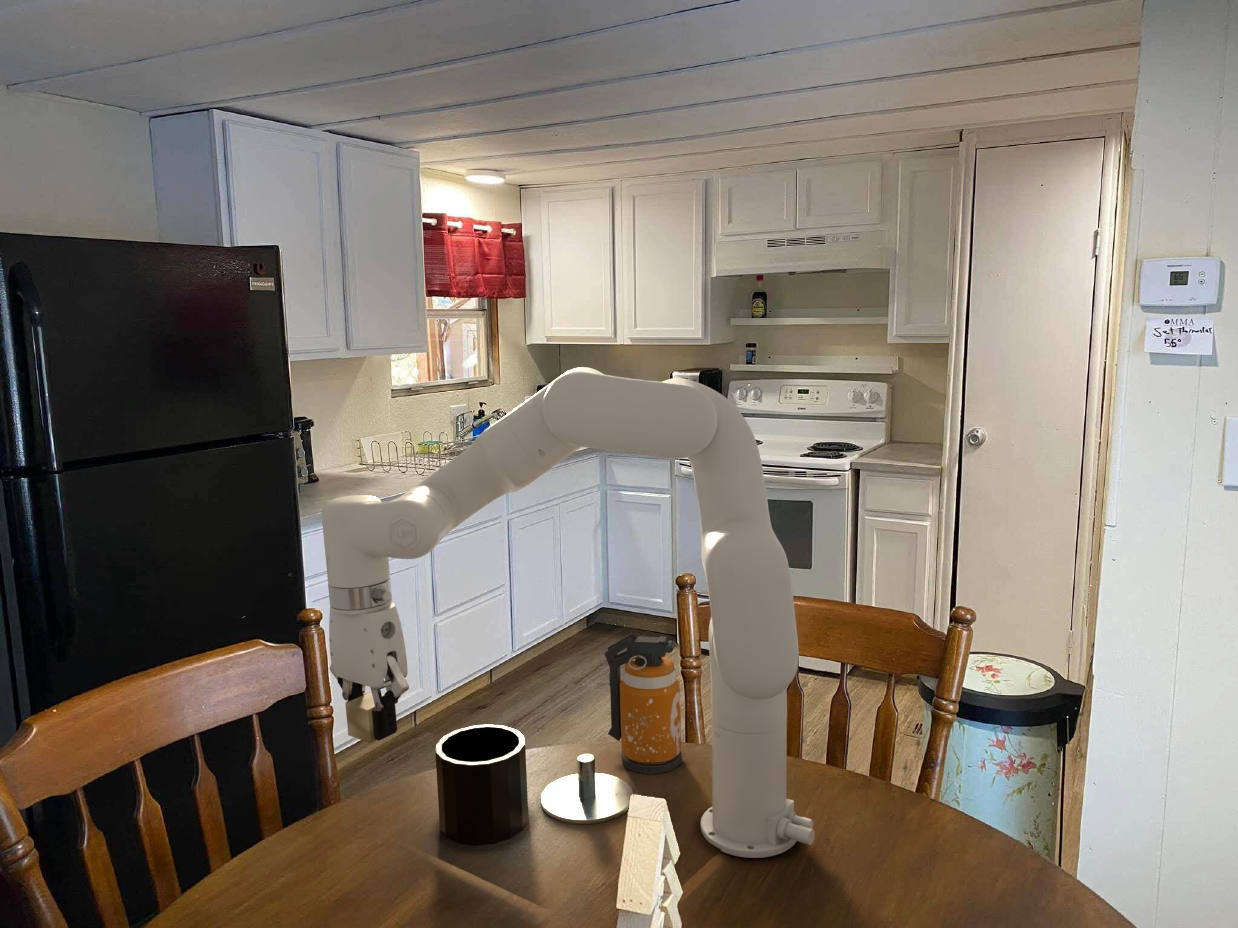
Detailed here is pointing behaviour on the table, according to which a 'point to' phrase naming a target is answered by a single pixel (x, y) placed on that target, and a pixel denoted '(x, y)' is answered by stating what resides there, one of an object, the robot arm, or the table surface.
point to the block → (361, 718)
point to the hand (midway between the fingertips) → (372, 729)
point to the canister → (645, 703)
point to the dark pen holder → (482, 784)
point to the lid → (586, 795)
